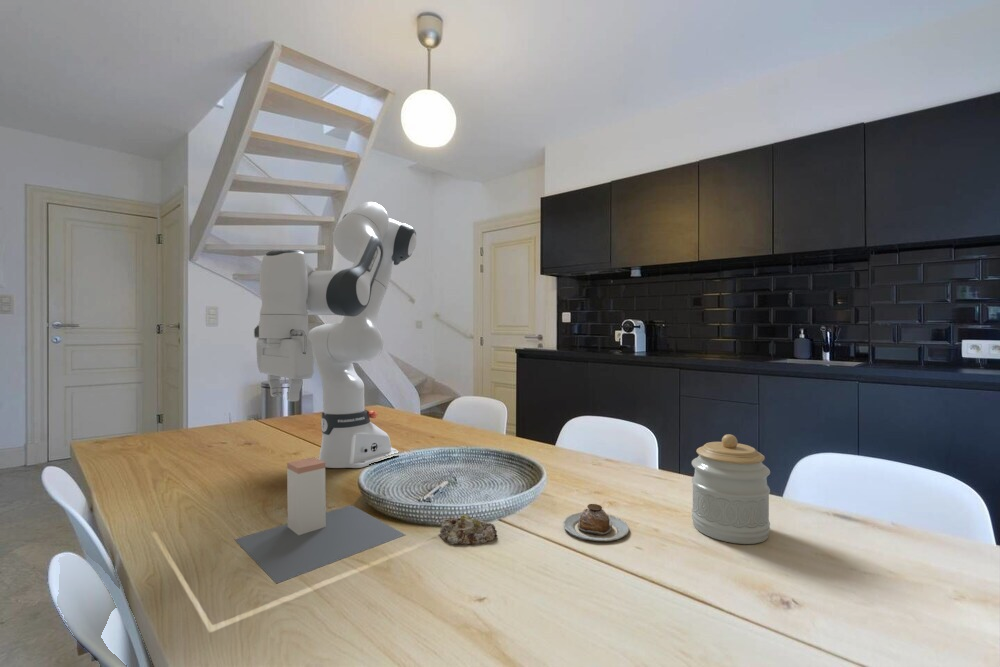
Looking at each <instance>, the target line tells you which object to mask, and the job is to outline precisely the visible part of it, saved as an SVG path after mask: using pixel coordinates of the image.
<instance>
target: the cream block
mask: <svg viewBox="0 0 1000 667" xmlns="http://www.w3.org/2000/svg"><path fill="white" fill-rule="evenodd" d="M286 465H287V466H286V467H287V468H286V472H287V473H286V478H287V479H286V481H287V484H286V486H287V489H286V490H287V491H286V492H287V502H286V503H287V524H288V528H290V529H291V530H292V531H294V532H295V533H296V534H297V535H301V534H304V533H308V532H311V531H314V530H317V529H320V528H323V527H326V512H327V509H326V508H327V507H326V506H327V504H326V499H327V498H326V467H325V462H323V461H321V460H319V458H316V457H314V456H313V457H308V458H303V459H299V460H293V461H288V462H286Z"/></svg>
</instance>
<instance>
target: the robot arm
mask: <svg viewBox="0 0 1000 667" xmlns="http://www.w3.org/2000/svg"><path fill="white" fill-rule="evenodd" d="M332 234H333V235H332V240H333V244H334V246H335V249H336V251H337V252H338V253H339V254H340V255H341V257H343V258H344V259H345V260H347V261H349V262H351V263H353V264H352V266H350V267H348V268H344V269H337V270H336V269H335V270H332V269H331V270H316V269H315V268H313V267H312V266H311V265H309V263H308V262H307V259H306V255H305V252H304V251H302V250H300V249H299V250H298V249H284V250H282V249H281V250H271V251H268V252H266V253H265V254H264V256H263V258H262V259H261V265H260V274H259V295H260V298H261V307H260V309H259V310H260V311H259V322H258V324H257V325H256V326H255V327H254V329H253V338H254V339H257V340H256V346H255V347H256V348H255V349H256V361H257V362H256V363H257V368H258V371H259V373H260V374H266V375H267V381H268V385H269V388H270V389H269V391H270V396H271V397H273V398H274V397H275V398H276V397H281V396H282V395H283V388H282V386H281V379H282V378H287V379H288V384H289V389H288V391H286V395H287V396H286V397H287V399H286V400H287V401H288V402H293V403H294V402H299V400H300V392H301V390H302V386H303V381H304V380H306V379H312V378H313V376H314V373H315V372H314V371H315V368H314V362H315V364H316V367H317V370H318V372H319V375H320V379H321V385H322V386H321V387H322V403H323V404H322V405H323V406H322V407H323V409H322V410H323V411H322V412H321V422H320V425H321V433H322V435H321V436H322V438H321V444H320V451H319V457H318V459H319V460H321V461H323V462H325V468H327V469H346V468H348V469H349V468H351V469H361V468H364V467H367V466H370V465H369V464H371V463H372V462H374V461H376V460H378V459H380V458H383V457H385V456H388V455H391V454H394V453H398V452H399V450H397V449H396V448H394V447H392V442H391V439H390V436H389V434H388V433H387V432H386V431H384V430H383V429H381V428H380V427H378V426H377V425H376V424H374V423H373V422H372V421H371V419H376V418H377V417H378V412H376V411H375V410H367V409H365V384H364V381H363V379H362V378H361V377H360V376H359V375H358V374H357V372H356V370H355V367H354V364H355V363H356V364H359V363H360V364H362V363H366V362H370V361H373V360H376V359H377V358H378V357H379V356H380V354H381V353H382V350H383V347H384V338H383V335H382V333H381V331H380V329H379V328H378V316H379V311H380V308H381V306H382V303H383V300H384V297H385V296H386V292H387V290H388V287H389V285H390V284H389V283H390V281H391V277H392V273H393V265H394V266H399V264H400V263H401V262H404V261H406V260H408V259H409V258H410V257H411V256H412V254H413V252H414V251H415V249H416V246H417V232H416V230H415V228H413V226H411V225H409V224H407V223H405V222H403V223H402V222H399V221H398V220H395V219H393V218H390V216H389V213H388V212H387V210H386V209H385V208H384V206H382V205H381V204H378V203H377V202H373V201H365V202H363V203H361V204H359V205H357V206H356V207H354V208H353V209H351V211H348V212H347V213H346V214H344V216H343V217H342V219H341V220H340V221H339V222H338V223H337V225H336V226H335V229H334V231H333V233H332ZM309 315H310V316H341V317H342V316H343V319H342V321H341V322H339V323H337V322H336V323H333V322H332V323H324V324H321V325H317V326H315V327H313V328H311V329H310V330H309ZM353 363H354V364H353ZM371 465H372V464H371Z"/></svg>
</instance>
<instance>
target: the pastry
mask: <svg viewBox="0 0 1000 667" xmlns="http://www.w3.org/2000/svg"><path fill="white" fill-rule="evenodd" d="M562 524H563V528H564V529H565V531H567V532H568V533H569V534H570V535H571V536H572V537H575V538H578V539H581V540H583V541H595V542H611V541H616V540H617V541H618V540H621V539H622V538H624V537H625V536H627V535H628V533H629V531H630V528H629V525H628V524H627V522H625V521H624V520H623V519H621V518H619V517H616V516H614V515H612V514H608V513H606V510H604V509H603V507H602V505H599V504H597V503H589V504H587V508H584V510H582V511H581V512H578V513H572V514H569V515H568V516H567V517H565V519H564V520H563V523H562ZM576 526H577V529H579V531H582V532H584V533H588V534H592V535H598V536H599V535H601V536H605V535H606V534H608V533H610V532H611V530H612V528H613V527H614V528H615V529H616V533H615V534H614V535H612V536H609V537H591V536H587V535H584V534H581V533H580V532H578V531H577V530H576V528H575V527H576Z"/></svg>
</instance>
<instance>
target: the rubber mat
mask: <svg viewBox="0 0 1000 667" xmlns="http://www.w3.org/2000/svg"><path fill="white" fill-rule="evenodd" d="M404 536H406V533H404V532H402V531H399V530H398V529H396V528H394V527H392V526H390V525H389V524H387V523H385V522H384V521H382V520H379V519H378V518H376V517H374V516H373V515H370V514H368V513H367V512H365V511H363V510H362V509H360V508H359V507H356V506H354V505H353V504H350V505H346V506H343V507H340V508H336V509H333V510H329V511H326V527H323V528H320V529H317V530H314V531H311V532H308V533H304V534H301V535H297V534H296V533H295V532H294V531H292V530H291V529H290V528H288V523H285V524H282V525H278V526H275V527H272V528H268V529H263V530H262V531H258V532H255V533H254V532H253V533H251V534H248V535H244V536H241V537H238V538H234V541H235V542H236V543H237V544H238V545H239V546H240V547H241V548H242V549H243V550H244V552H245V553H246V554H247V555H249V557H250V558H251V559H252V560H253V561H254V562H255V563H256V564H257V565H258V566H259V567H260V568H261V569H262V570H263V571H264V572H265V574H266V575H267V576H269V578H270V579H271V580H272V581H273V582H274V583H275V584H280V583H282V582H285V581H288V580H290V579H294V578H296V577H298V576H302V575H303V574H307V573H309V572H311V571H314V570H317V569H319V568H321V567H325V566H328V565H330V564H333V563H335V562H338V561H341V560H344V559H346V558H349V557H352V556H354V555H357V554H359V553H362V552H364V551H367V550H370V549H373V548H375V547H378V546H380V545H383V544H386V543H389V542H391V541H394V540H396V539H398V538H402V537H404Z"/></svg>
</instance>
